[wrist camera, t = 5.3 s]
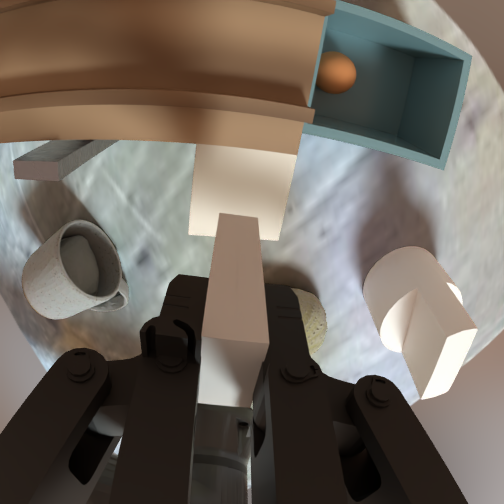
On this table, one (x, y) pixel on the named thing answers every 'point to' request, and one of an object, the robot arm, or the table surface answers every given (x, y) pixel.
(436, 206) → the table surface
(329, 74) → the ball
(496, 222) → the table surface
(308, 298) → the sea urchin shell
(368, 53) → the open box
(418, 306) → the cylinder with rectangular tab
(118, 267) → the ceramic mug
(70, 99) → the wooden ramp track
